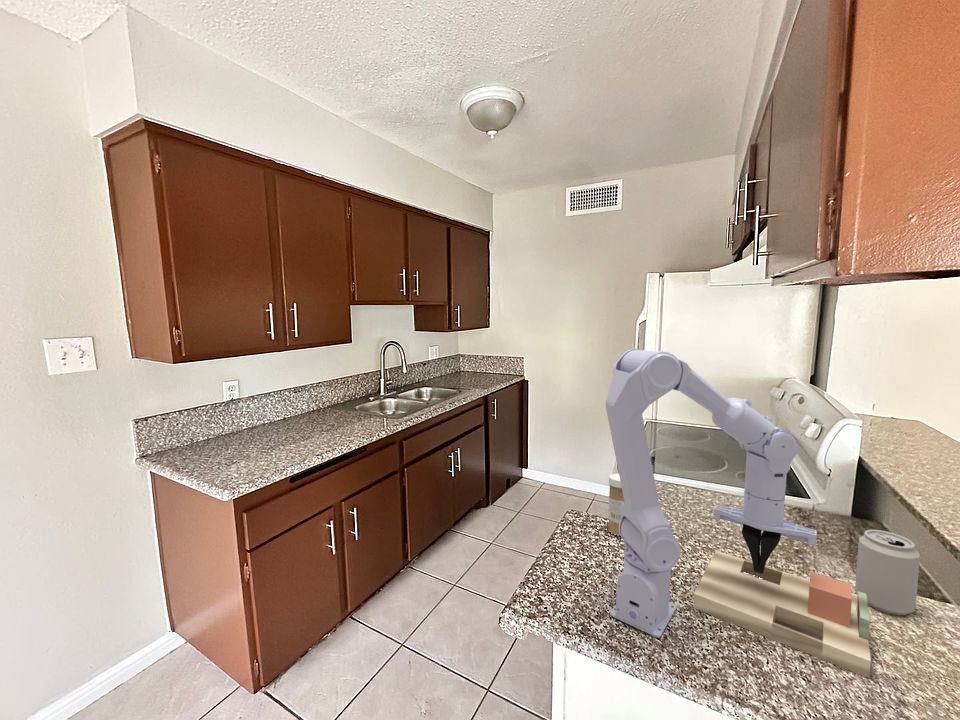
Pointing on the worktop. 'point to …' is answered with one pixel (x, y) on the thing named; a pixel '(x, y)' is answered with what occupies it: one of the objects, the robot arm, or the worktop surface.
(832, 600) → the block
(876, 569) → the can
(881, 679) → the worktop surface
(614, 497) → the sprinkles bottle
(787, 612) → the board
